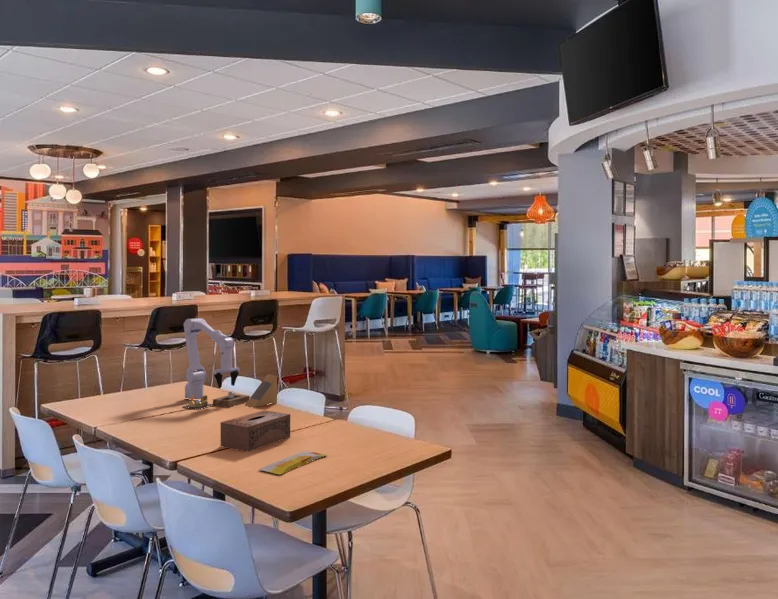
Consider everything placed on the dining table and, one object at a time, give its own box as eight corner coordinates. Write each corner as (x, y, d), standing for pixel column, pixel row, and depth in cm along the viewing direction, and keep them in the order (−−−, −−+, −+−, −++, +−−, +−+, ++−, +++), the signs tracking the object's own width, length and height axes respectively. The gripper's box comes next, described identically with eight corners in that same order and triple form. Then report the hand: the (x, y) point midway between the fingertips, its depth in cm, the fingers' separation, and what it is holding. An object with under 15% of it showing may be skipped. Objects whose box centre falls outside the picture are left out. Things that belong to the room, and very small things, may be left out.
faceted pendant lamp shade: (185, 405, 317) (185, 398, 317) (199, 402, 326) (199, 394, 326) (199, 407, 313) (199, 399, 313) (212, 403, 323) (212, 396, 322)
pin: (227, 403, 327) (227, 392, 327) (230, 402, 330) (230, 391, 329) (231, 404, 326) (231, 392, 326) (235, 403, 329) (235, 391, 328)
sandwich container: (243, 405, 323) (243, 377, 322) (267, 401, 334) (267, 373, 333) (252, 408, 317) (252, 379, 316) (277, 404, 328) (277, 375, 327)
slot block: (212, 405, 323) (212, 399, 323) (232, 399, 337) (232, 394, 337) (230, 407, 318) (229, 401, 318) (249, 401, 333) (249, 395, 333)
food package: (279, 471, 212) (257, 466, 217) (279, 477, 212) (257, 472, 217) (328, 452, 235) (307, 448, 240) (328, 457, 235) (307, 453, 240)
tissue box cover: (247, 452, 240) (247, 427, 239) (220, 447, 247) (220, 422, 247) (290, 437, 262) (290, 414, 262) (264, 432, 269) (264, 410, 269)
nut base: (181, 407, 317) (181, 397, 316) (196, 403, 327) (196, 394, 326) (199, 409, 312) (199, 399, 312) (213, 405, 322) (213, 396, 322)
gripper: (217, 362, 317) (217, 389, 317) (242, 360, 327) (242, 385, 328) (210, 361, 322) (210, 387, 322) (235, 358, 332) (235, 383, 333)
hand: (226, 386), depth 325 cm, fingers open, 7 cm apart
